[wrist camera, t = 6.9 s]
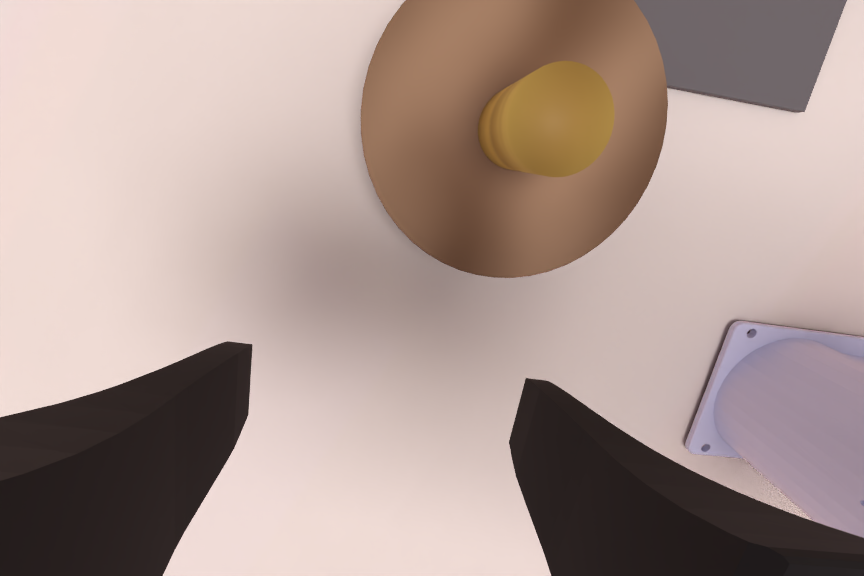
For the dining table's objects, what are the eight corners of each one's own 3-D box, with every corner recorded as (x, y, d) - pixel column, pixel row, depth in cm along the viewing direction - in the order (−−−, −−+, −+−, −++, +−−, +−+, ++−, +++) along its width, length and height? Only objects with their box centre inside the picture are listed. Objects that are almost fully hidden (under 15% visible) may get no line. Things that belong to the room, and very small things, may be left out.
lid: (701, 8, 15) (847, -60, 10) (597, 295, 18) (670, 350, 13) (397, -90, 14) (395, -226, 9) (338, 240, 17) (312, 278, 12)
